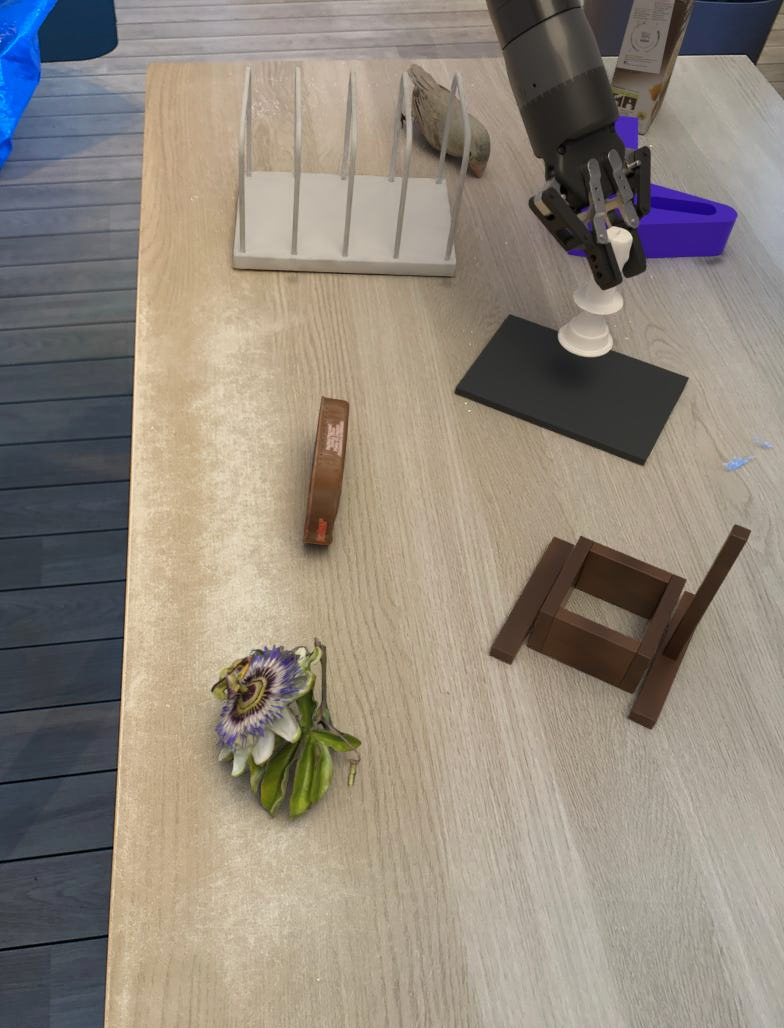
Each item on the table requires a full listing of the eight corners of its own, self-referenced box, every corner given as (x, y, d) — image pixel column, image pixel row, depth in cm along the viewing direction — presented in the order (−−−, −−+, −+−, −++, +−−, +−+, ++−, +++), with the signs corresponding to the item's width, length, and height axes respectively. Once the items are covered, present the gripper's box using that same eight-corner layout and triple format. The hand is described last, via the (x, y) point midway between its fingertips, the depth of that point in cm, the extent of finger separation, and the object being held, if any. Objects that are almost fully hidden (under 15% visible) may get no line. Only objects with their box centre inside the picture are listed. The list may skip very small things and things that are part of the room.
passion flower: (240, 767, 81) (217, 630, 77) (372, 758, 80) (356, 617, 76) (215, 840, 71) (187, 685, 67) (366, 831, 69) (347, 672, 65)
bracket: (567, 254, 115) (594, 154, 106) (571, 203, 121) (597, 105, 112) (725, 276, 113) (767, 177, 104) (721, 223, 120) (760, 125, 110)
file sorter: (232, 271, 112) (227, 133, 99) (240, 186, 122) (237, 51, 109) (454, 278, 112) (478, 141, 99) (444, 193, 122) (464, 59, 109)
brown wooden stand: (702, 608, 85) (780, 475, 72) (651, 729, 78) (727, 606, 65) (551, 544, 89) (598, 407, 76) (488, 654, 82) (529, 524, 69)
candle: (601, 365, 95) (640, 252, 85) (549, 346, 96) (581, 233, 86) (619, 334, 98) (659, 222, 88) (568, 316, 99) (602, 204, 89)
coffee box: (645, 136, 131) (687, 2, 118) (599, 124, 133) (634, -10, 119) (663, 105, 136) (704, -26, 123) (617, 94, 137) (653, -37, 124)
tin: (314, 444, 96) (317, 374, 89) (347, 447, 96) (352, 377, 89) (299, 563, 87) (302, 496, 80) (335, 566, 87) (341, 500, 80)
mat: (686, 383, 102) (689, 377, 102) (643, 466, 95) (646, 460, 95) (508, 319, 108) (509, 313, 107) (454, 393, 101) (455, 387, 100)
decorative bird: (464, 185, 123) (474, 124, 117) (388, 127, 131) (394, 68, 125) (498, 173, 125) (509, 112, 119) (421, 117, 133) (428, 57, 126)
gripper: (530, 88, 79) (601, 298, 84) (647, 43, 84) (708, 242, 89) (473, 126, 86) (542, 318, 90) (585, 82, 91) (644, 266, 95)
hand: (624, 280), depth 89 cm, fingers closed on candle, 2 cm apart
